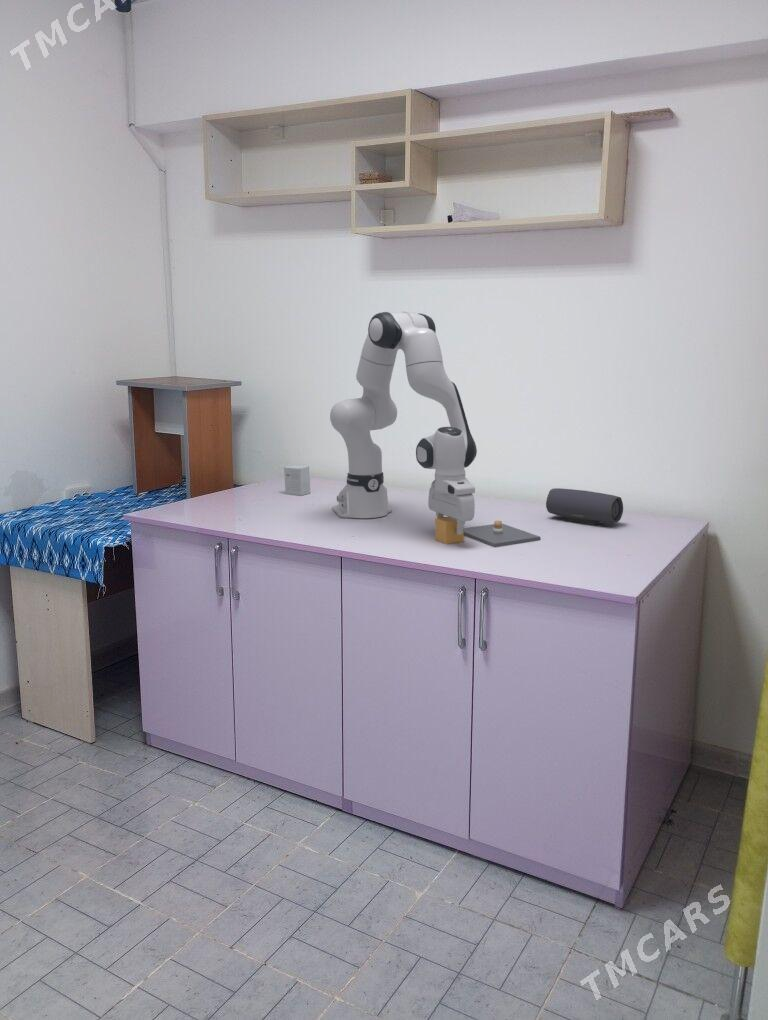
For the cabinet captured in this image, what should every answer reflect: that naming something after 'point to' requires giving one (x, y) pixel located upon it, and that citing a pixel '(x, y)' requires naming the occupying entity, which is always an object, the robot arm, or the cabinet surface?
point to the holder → (499, 534)
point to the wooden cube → (447, 530)
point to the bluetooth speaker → (584, 506)
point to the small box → (297, 480)
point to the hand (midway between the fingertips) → (450, 530)
